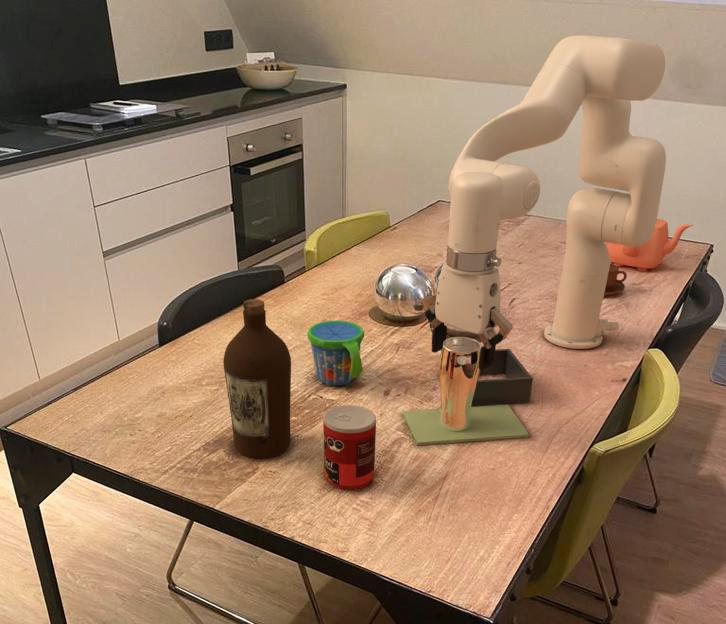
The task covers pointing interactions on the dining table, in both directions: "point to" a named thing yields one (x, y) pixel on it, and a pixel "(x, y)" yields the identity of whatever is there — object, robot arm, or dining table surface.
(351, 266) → the dining table surface
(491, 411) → the drying mat
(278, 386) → the olive oil
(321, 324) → the snack cup
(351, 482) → the canned food
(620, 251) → the teapot
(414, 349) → the dining table surface
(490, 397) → the basin
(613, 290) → the cup and saucer
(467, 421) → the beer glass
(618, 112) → the robot arm
